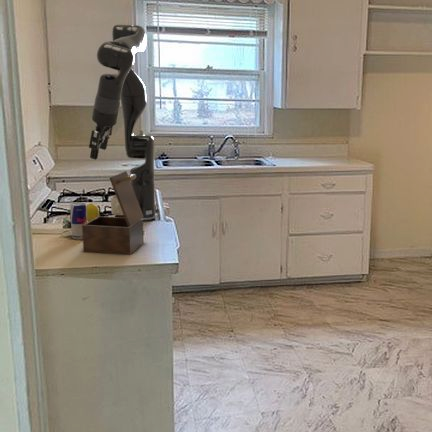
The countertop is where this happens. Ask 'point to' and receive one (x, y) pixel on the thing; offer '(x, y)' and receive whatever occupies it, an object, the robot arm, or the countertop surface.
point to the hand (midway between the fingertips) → (98, 153)
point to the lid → (127, 197)
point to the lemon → (92, 212)
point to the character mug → (116, 207)
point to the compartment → (112, 235)
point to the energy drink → (78, 219)
